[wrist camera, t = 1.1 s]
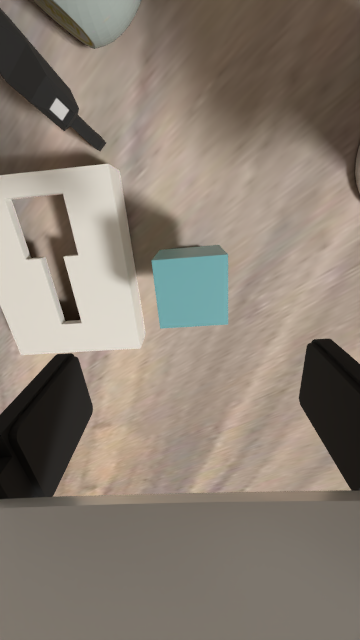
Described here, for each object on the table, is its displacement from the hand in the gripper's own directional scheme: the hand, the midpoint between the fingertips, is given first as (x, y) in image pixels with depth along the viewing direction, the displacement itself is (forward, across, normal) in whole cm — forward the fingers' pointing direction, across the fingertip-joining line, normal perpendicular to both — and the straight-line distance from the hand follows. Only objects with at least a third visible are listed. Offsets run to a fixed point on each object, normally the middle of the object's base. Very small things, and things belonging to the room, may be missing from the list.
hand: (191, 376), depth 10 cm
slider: (+22, 0, 0) cm, 22 cm away
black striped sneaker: (+22, +13, -19) cm, 32 cm away
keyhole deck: (+22, +15, -1) cm, 26 cm away
